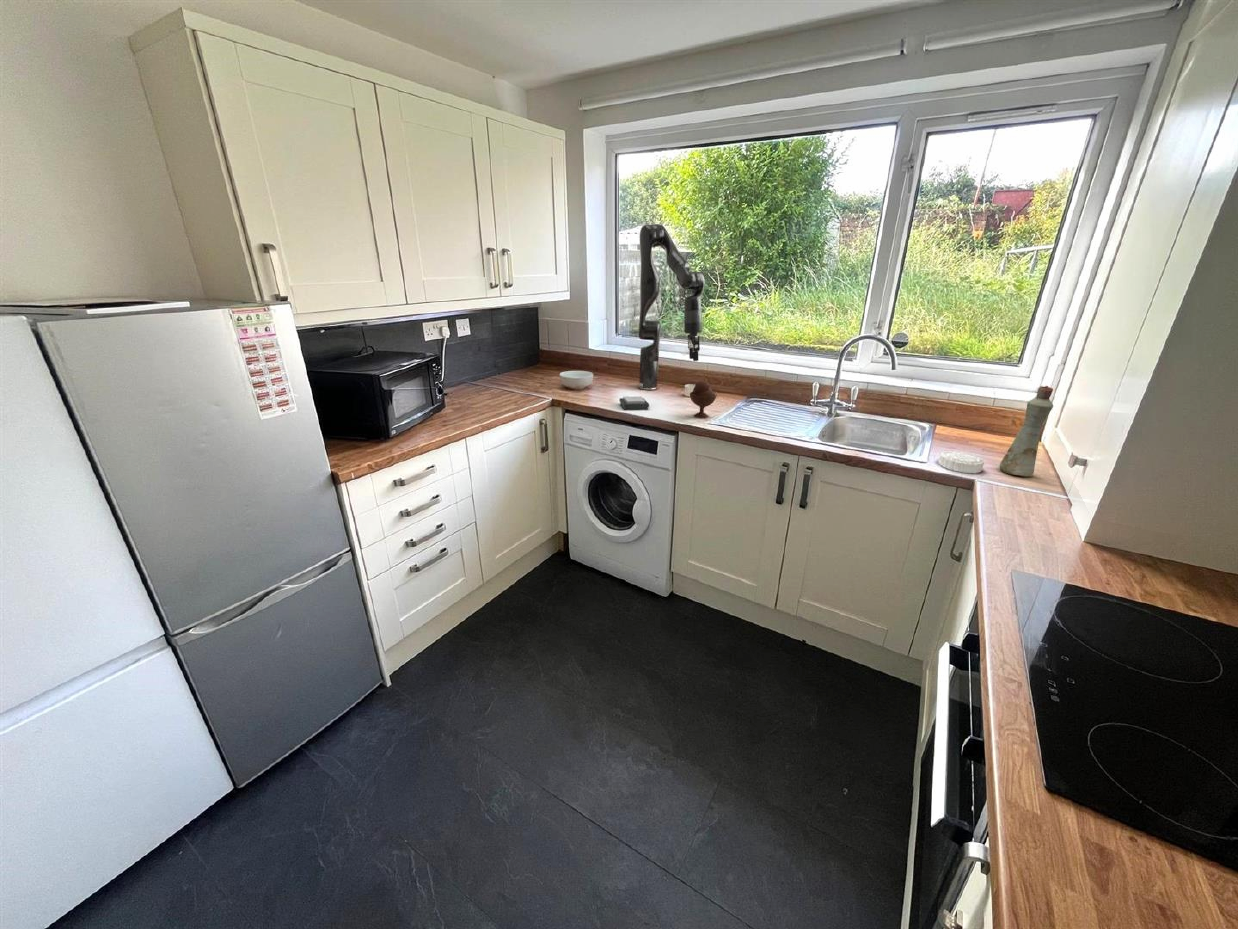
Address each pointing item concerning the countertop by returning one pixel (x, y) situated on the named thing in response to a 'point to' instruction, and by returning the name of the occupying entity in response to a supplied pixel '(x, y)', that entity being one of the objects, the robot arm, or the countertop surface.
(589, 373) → the cereal bowl
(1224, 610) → the countertop surface
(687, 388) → the white short cylinder
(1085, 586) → the countertop surface
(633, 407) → the scale
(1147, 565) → the countertop surface
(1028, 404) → the bottle
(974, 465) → the mooncake
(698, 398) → the ice cream bowl
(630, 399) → the scale pan
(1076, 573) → the countertop surface
